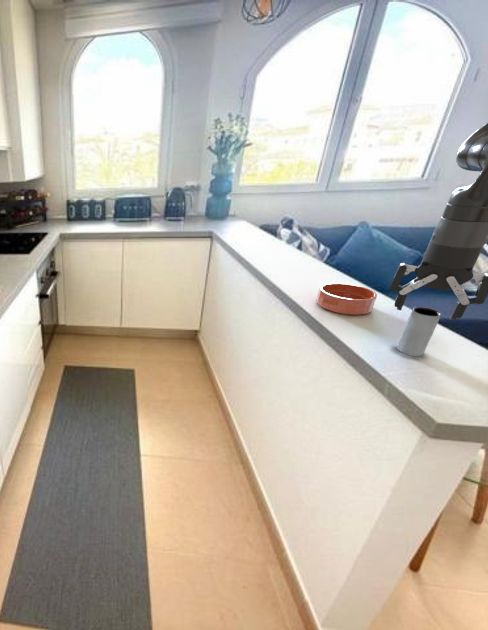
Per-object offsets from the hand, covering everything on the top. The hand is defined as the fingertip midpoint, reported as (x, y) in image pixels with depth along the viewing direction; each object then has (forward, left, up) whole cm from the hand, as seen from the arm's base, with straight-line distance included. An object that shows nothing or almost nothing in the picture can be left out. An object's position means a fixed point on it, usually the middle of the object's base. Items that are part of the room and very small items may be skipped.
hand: (424, 313), depth 76 cm
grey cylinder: (0, 0, -10) cm, 10 cm away
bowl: (+15, -20, -10) cm, 27 cm away
